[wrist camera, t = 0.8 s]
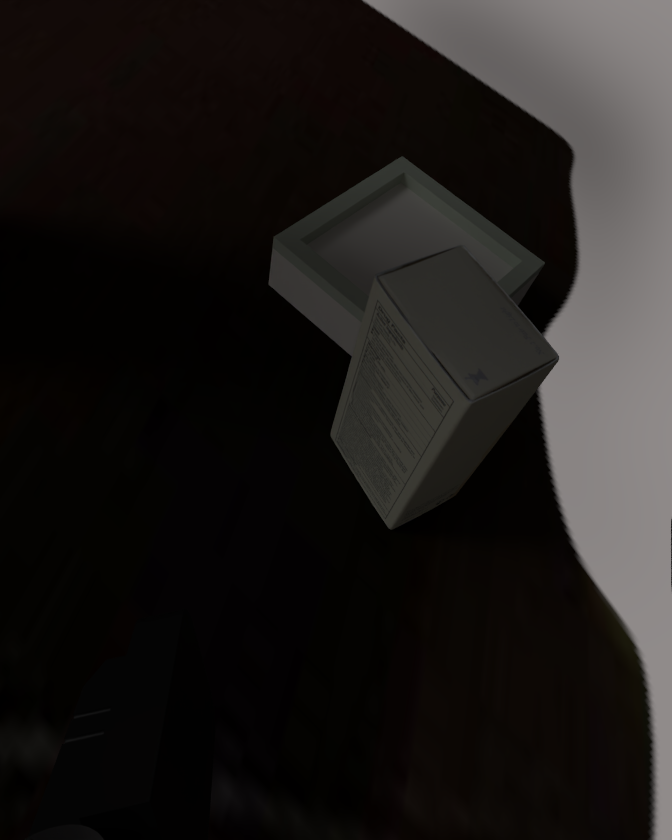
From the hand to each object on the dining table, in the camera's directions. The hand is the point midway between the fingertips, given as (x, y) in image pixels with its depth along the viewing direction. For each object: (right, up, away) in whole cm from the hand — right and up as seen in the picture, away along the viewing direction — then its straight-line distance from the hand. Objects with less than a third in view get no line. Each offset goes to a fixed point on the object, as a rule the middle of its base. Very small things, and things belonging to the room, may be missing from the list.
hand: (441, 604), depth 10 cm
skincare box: (+1, +1, +23) cm, 23 cm away
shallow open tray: (+2, +11, +28) cm, 30 cm away
